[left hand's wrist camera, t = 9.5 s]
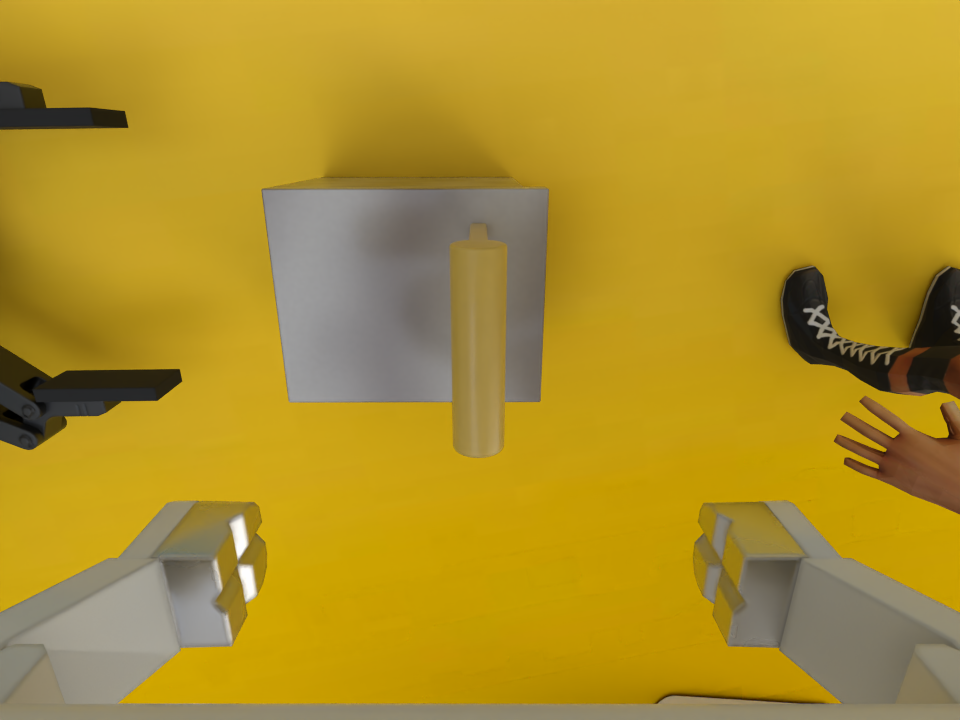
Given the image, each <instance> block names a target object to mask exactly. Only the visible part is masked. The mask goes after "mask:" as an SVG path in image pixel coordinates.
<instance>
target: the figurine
mask: <svg viewBox="0 0 960 720" xmlns="http://www.w3.org/2000/svg"><path fill="white" fill-rule="evenodd" d="M827 303H828V296H827V292H826V287H825V283H824V278H823V275H822V274H821V273H820V272H819V271H818V269H817V268H816V267H815V266H809V267H805V268H802V269H798V270H794V271H793V272H792V274H791V275H790V276H789V277H788V279H787V280H786V281H785V284H784V288H783V292H782V296H781V308H782V317H783V321H784V325H785V329H786V333H787V337H788V341H789V345H790V346H791V347H792V348H793V349H794V350H795V351H796V352H797V353H798V354H799V355H800V356H801V357H802V358H803V359H804V360H805V361H807V362H808V363H810V364H823V365H831V366H836V367H839V368H842V369H845V370H847V371H849V372H850V373H851V374H853V375H854V376H856V377H857V378H858V379H860V380H861V381H863V382H865V383H867V384H869V385H871V386H872V387H874V388H876V389H878V390H880V391H885V392H891V393H896V394H905V395H916V396H922V395H926V394H930V393H933V392H942V393H948V394H951V395H953V396H955V397H956V398H958V399H960V269H956V268H953V267H949V266H948V267H946V268H945V269H944V270H942V271H941V272H940V273H938V274H937V275H936V276H935V278H934V280H933V282H932V284H931V286H930V288H929V290H928V292H927V295H926V298H925V302H924V305H923V309H922V312H921V315H920V319H919V321H918V324H917V326H916V329H915V331H914V334H913V337H912V340H911V342H910V345H909V348H894V347H880V346H872V345H867V344H861V343H856V342H853V341H850V340H847V339H844V338H842V337H840V336H839V335H838V334H837V333H836V331H835V330H834V329H833V327H832V325H831V322H830V318H829V315H828V311H827ZM859 402H860V403H861V404H862V405H864V406H865V407H866V408H867V409H868V410H869V411H870V412H872V413H873V414H874V415H876V416H877V417H878V418H880V419H881V420H883V421H884V422H885V423H887V424H888V425H890V426H891V427H893V428H894V429H895V430H897V431H898V432H899V433H900V434H899V435H897V436H896V437H895V438H891V437H890V436H888V435H886V434H885V433H883V432H881V431H879V430H878V429H876V428H874V427H872V426H871V425H869V424H867V423H865V422H864V421H862V420H860V419H859V418H857V417H855V416H853V415H852V414H850V413H848V412H846V413H845V414H844V416H843V417H842V418H841V419H840V420H841V421H843V422H844V423H846V424H847V425H849V426H850V427H852V428H853V429H855V430H856V431H858V432H859V433H861V434H862V435H864V436H865V437H867V438H869V439H871V440H872V441H874V442H876V443H878V444H879V445H881V446H883V447H884V448H886V449H887V450H886V452H882V451H879V450H876V449H873V448H871V447H868V446H866V445H864V444H861V443H859V442H856V441H854V440H851V439H849V438H846V437H844V436H841V435H837V436H836V438H835V440H834V442H835V443H837V444H839V445H840V446H842V447H844V448H846V449H848V450H850V451H852V452H854V453H856V454H858V455H860V456H862V457H864V458H866V459H868V460H870V461H872V462H875V463H877V464H878V465H879V469H877V468H874V467H870V466H867V465H865V464H863V463H861V462H858V461H856V460H854V459H851V458H845V460H844V465H846V466H848V467H850V468H852V469H854V470H856V471H858V472H860V473H862V474H864V475H867V476H870V477H873V478H876V479H878V480H881V481H883V482H885V483H888V484H890V485H893V486H895V487H897V488H899V489H901V490H903V491H904V492H906V493H908V494H910V495H913V496H915V497H918V498H921V499H924V500H926V501H929V502H932V503H934V504H937V505H939V506H942V507H944V508H946V509H949V510H951V511H953V512H956V513H958V514H960V411H959V409H958V407H957V406H956V404H955V402H954V401H952V402H948V403H943V404H942V405H941V407H940V409H941V412H942V415H943V417H944V420H945V422H946V423H947V427H948V431H949V435H948V438H934V437H931V436H928V435H926V434H924V433H921V432H919V431H917V430H915V429H913V428H911V427H910V426H908V425H907V424H906V423H905V422H904V421H902V420H901V419H900V418H898V417H897V416H896V415H894V414H893V413H891V412H890V411H889V410H887V409H886V408H884V407H883V406H881V405H880V404H878V403H877V402H875V401H873V400H872V399H870V398H868V397H867V396H865V397H863V398H862V399H861V400H860V401H859Z"/></svg>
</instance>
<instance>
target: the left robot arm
mask: <svg viewBox="0 0 960 720" xmlns="http://www.w3.org/2000/svg"><path fill="white" fill-rule="evenodd" d="M261 523H262V520H261V515H260V510H259V506H258V505H257V504H256V503H254V502H225V501H200V502H199V501H173V502H169V503H167V504H166V505H165V506H164V507H163V508H162V509H161V510H160V512H159V513H158V514H157V515H156V516H155V517H154V518H153V519H152V521H151V522H150V523H149V524H148V525H147V526H146V527H145V528H144V529H143V531H142V532H141V533H140V534H139V535H138V536H137V537H136V538H135V540H134V541H133V542H132V543H131V544H130V545H129V546H128V547H127V549H126V550H125V551H124V552H123V553H122V554H121V555H120V556H119V558H108V559H106V560H104V561H102V562H100V563H98V564H96V565H94V566H92V567H90V568H88V569H86V570H84V571H82V572H80V573H78V574H76V575H74V576H72V577H70V578H68V579H66V580H64V581H62V582H60V583H58V584H56V585H54V586H52V587H50V588H48V589H46V590H44V591H42V592H40V593H38V594H36V595H34V596H32V597H30V598H28V599H26V600H24V601H22V602H20V603H18V604H16V605H14V606H12V607H10V608H8V609H6V610H4V611H2V612H0V720H960V613H959V612H957V611H955V610H953V609H951V608H949V607H947V606H945V605H943V604H941V603H939V602H937V601H935V600H933V599H931V598H929V597H927V596H925V595H923V594H921V593H919V592H917V591H915V590H913V589H911V588H909V587H907V586H905V585H903V584H901V583H899V582H897V581H895V580H893V579H891V578H889V577H887V576H885V575H883V574H881V573H879V572H878V571H876V570H874V569H872V568H870V567H868V566H866V565H864V564H862V563H860V562H858V561H856V560H854V559H852V558H841V556H840V555H839V554H838V553H837V552H836V551H835V550H834V549H833V547H832V546H831V545H830V544H829V543H828V542H827V541H826V540H825V538H824V537H823V536H822V535H821V534H820V533H819V532H818V531H817V530H816V528H815V527H814V526H813V525H812V524H811V523H810V522H809V521H808V519H807V518H806V517H805V516H804V515H803V514H802V513H801V512H800V510H799V509H798V508H797V507H796V506H795V505H794V504H793V503H791V502H789V501H787V500H786V501H759V502H726V503H703V505H702V507H701V509H700V514H699V519H698V523H699V525H700V526H701V528H702V530H703V532H704V534H703V535H702V536H701V537H700V538H699V539H698V540H697V541H696V542H695V545H694V553H693V565H694V574H695V578H696V581H697V584H698V587H699V589H700V591H701V593H702V595H703V596H704V597H705V598H707V599H708V600H710V601H711V602H712V603H714V609H713V617H714V619H715V621H716V623H717V625H718V627H719V629H720V631H721V633H722V635H723V637H724V639H725V641H726V643H727V645H728V646H741V647H776V648H780V649H779V650H780V651H781V652H782V653H783V654H785V655H786V656H787V657H788V658H789V659H791V660H792V661H793V662H794V663H795V664H797V665H798V666H799V667H800V668H801V669H802V670H804V671H805V672H806V673H807V674H808V675H810V676H811V677H812V678H813V679H814V680H816V681H817V682H818V683H819V684H820V685H821V686H823V687H824V688H825V689H826V690H827V691H829V692H830V693H831V694H832V695H833V696H835V697H836V698H837V699H838V700H839V701H840V702H842V703H843V704H798V703H782V702H767V701H751V700H736V699H720V698H705V697H689V696H669V697H666V698H664V699H663V700H661V701H660V702H659V703H658V704H117V703H118V702H120V701H121V700H122V699H123V698H124V697H126V696H127V695H128V694H129V693H130V692H132V691H133V690H134V689H135V688H136V687H138V686H139V685H140V684H141V683H142V682H143V681H145V680H146V679H147V678H148V677H149V676H151V675H152V674H153V673H154V672H155V671H157V670H158V669H159V668H160V667H161V666H163V665H164V664H165V663H166V662H167V661H169V660H170V659H171V658H172V657H173V656H174V655H176V654H177V653H178V652H179V651H180V650H181V649H180V648H184V647H218V646H232V645H233V643H234V641H235V639H236V637H237V635H238V633H239V631H240V629H241V627H242V625H243V623H244V621H245V619H246V617H247V610H246V603H248V602H249V601H250V600H252V599H253V598H255V597H256V596H257V595H258V593H259V591H260V589H261V587H262V584H263V581H264V577H265V572H266V568H267V551H266V544H265V542H264V541H263V540H262V539H261V538H260V537H259V536H258V535H257V534H256V532H257V530H258V528H259V526H260V525H261Z"/></svg>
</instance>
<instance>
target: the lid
mask: <svg viewBox="0 0 960 720" xmlns="http://www.w3.org/2000/svg"><path fill="white" fill-rule="evenodd" d="M262 197H263V205H264V213H265V220H266V228H267V236H268V243H269V251H270V259H271V267H272V274H273V282H274V290H275V298H276V305H277V313H278V321H279V329H280V336H281V344H282V352H283V359H284V367H285V375H286V383H287V390H288V398H289V402H452V413H453V446H454V448H455V450H456V451H457V452H458V453H460V454H462V455H464V456H467V457H473V458H484V457H490V456H493V455H495V454H497V453H499V452H500V451H501V450H502V449H503V447H504V419H505V402H540V399H541V374H542V350H543V325H544V300H545V275H546V250H547V225H548V201H549V189H548V188H546V187H269V188H264V189H262Z"/></svg>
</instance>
